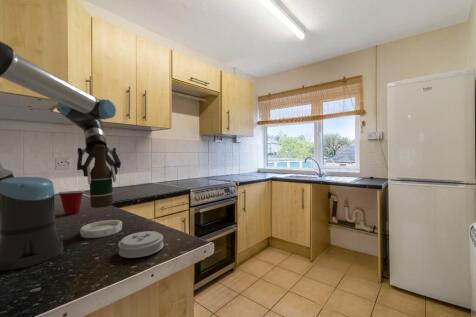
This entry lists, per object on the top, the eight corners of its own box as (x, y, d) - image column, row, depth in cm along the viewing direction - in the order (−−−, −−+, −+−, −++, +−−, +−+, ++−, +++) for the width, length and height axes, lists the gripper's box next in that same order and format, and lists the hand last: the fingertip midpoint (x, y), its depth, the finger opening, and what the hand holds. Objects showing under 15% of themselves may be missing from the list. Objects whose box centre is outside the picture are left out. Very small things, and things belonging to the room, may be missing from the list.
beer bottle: (116, 205, 87) (113, 144, 86) (93, 209, 81) (90, 144, 81) (110, 202, 92) (107, 145, 92) (88, 206, 87) (85, 145, 86)
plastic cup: (90, 211, 120) (89, 189, 120) (73, 216, 109) (72, 192, 109) (71, 210, 121) (71, 189, 121) (53, 216, 110) (52, 192, 110)
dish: (106, 238, 79) (106, 231, 79) (71, 237, 80) (71, 231, 80) (129, 226, 92) (128, 220, 92) (98, 225, 93) (98, 219, 93)
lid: (130, 265, 59) (129, 247, 59) (111, 253, 67) (111, 236, 67) (171, 249, 69) (171, 233, 69) (150, 240, 77) (150, 225, 77)
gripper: (120, 147, 104) (130, 184, 92) (66, 147, 91) (68, 190, 79) (122, 134, 100) (133, 172, 88) (65, 133, 87) (68, 176, 75)
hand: (102, 180), depth 83 cm, fingers closed on beer bottle, 7 cm apart
